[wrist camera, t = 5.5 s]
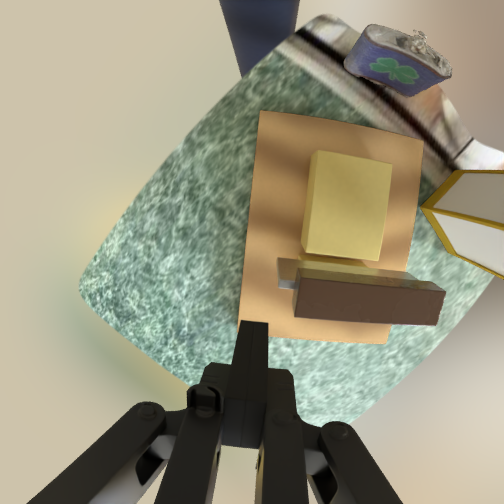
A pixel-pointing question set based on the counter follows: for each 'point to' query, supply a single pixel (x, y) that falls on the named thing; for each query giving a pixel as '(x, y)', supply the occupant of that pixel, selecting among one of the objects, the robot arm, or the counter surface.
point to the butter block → (345, 205)
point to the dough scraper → (359, 293)
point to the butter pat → (331, 260)
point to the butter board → (293, 207)
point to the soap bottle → (471, 217)
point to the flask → (397, 60)
